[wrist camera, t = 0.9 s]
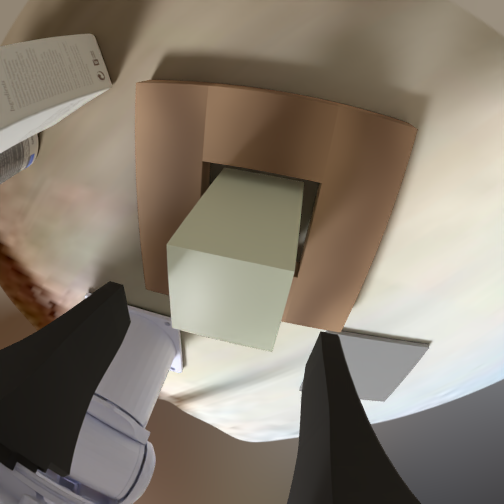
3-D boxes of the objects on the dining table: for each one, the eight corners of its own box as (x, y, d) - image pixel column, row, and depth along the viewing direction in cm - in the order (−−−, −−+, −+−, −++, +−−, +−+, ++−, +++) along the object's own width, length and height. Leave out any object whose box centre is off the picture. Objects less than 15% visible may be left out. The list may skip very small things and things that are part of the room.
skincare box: (94, 30, 13) (-89, 63, 3) (117, 90, 15) (-64, 167, 6) (35, 78, 15) (-112, 140, 5) (55, 130, 17) (-86, 216, 8)
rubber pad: (299, 387, 28) (299, 391, 28) (327, 328, 23) (327, 332, 22) (384, 398, 27) (384, 401, 27) (428, 343, 22) (429, 347, 22)
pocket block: (154, 275, 23) (145, 289, 22) (150, 79, 15) (136, 82, 14) (340, 316, 22) (340, 332, 21) (408, 122, 14) (417, 129, 12)
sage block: (218, 234, 20) (172, 327, 13) (224, 167, 17) (166, 244, 11) (289, 248, 20) (272, 351, 13) (304, 182, 17) (294, 271, 10)
